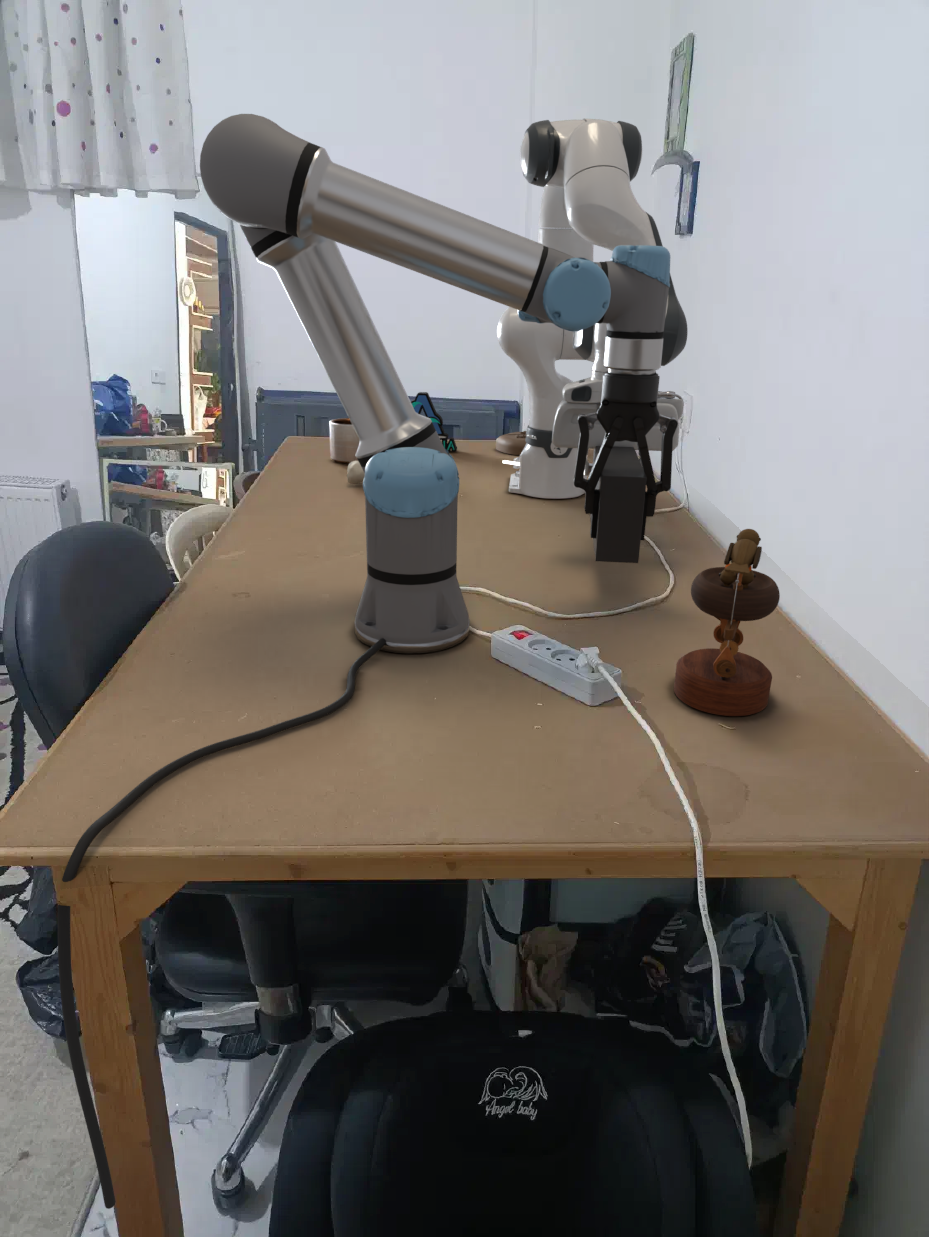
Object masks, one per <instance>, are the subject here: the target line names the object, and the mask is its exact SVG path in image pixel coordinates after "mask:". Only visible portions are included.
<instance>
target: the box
mask: <svg viewBox="0 0 929 1237" xmlns="http://www.w3.org/2000/svg"><path fill="white" fill-rule="evenodd" d="M600 448H601V446H596V449H593V455H592V456H593V458H592V464H594V463H595V460H596V458H597V455H598V453H599V450H600ZM639 459H640V457H639V455H638V454H637V450H635V449H634V447H617V446H613V448H612V449H611V452H610V454H609V456H608V459H607V461H606V464H605V466H604V469H603V471H602V472H601V476H600V478H599V481H598V483H597V486H596V488H595V489H599V493H600V495H599V508H598V521H597V534H596V538H592V545H593V553H594V560H595V561H594V562H603V563H624V564H639V561H640V560H639V559H640V550H641V541H642V540H641V531H642V521H643V511H644V501H645V491H647V486H646V480H647V477H646V475H645V474H644V471H643V468H642V465H641V463H640V461H639ZM591 517H592V514H589V519H590V520H589V521H590V522H591Z"/></svg>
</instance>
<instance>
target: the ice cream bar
mask: <svg viewBox="0 0 929 1237" xmlns="http://www.w3.org/2000/svg"><path fill="white" fill-rule="evenodd" d="M526 431H527V430H523V431H513V432H509V433H505V434H502V435H500V436H498V437H497V438H496V440H495V450H496V451H499V452H501V453H504V454H509V455H515V456H520V454H521V453H522V451H523V449H524V447H525V445H526V441H525V440H526Z"/></svg>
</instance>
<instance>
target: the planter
mask: <svg viewBox="0 0 929 1237" xmlns="http://www.w3.org/2000/svg"><path fill="white" fill-rule="evenodd" d="M328 424H329V425H328V426H329V453H330V454H329V455H330V456H329V457H330V459H331V460H332V461H333V462H335V463H341V464H350V463H351V462H353V461H358V459H357V457H356V453H357V449H358V446H359V437H358V435H357V433H356V431H355V429H354V427H353V425H352V423H351V421H350V419H349V417H342V418H341V417H340V418H335V419H334V418H333V419H331V420H329V421H328Z"/></svg>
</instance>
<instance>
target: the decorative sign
mask: <svg viewBox="0 0 929 1237" xmlns="http://www.w3.org/2000/svg"><path fill="white" fill-rule="evenodd" d="M410 402H411V404H412V406H413V408H414V410H415V412H416V413H418V414H420V415H422V414H421V413H422V411H423V413H424V416H425V417H428V418H430V419H431V421H432V423H433V425H434V427H435V429H436V431H437V434H438V436H439V438H440V440H441V442H442V444H443V446H444V448H445V449H446V450H448V452H449V453H450V452H453V453H455V452H457V450H458V446H457V444H456V440H455V438H454V437H453V436H452V437H449V434H448V433H447V432H445V430H444V427H443V424H444V419H443V417H442V416H441V415H440V414H439V413H438V412H437V411H436V408H435V406H434V404H433V401H432V399H431V397H430V394H429V392H427V391H419V392H417V393H416V395H415V398H414V399H412V400H410ZM448 438H449V439H448Z"/></svg>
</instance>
